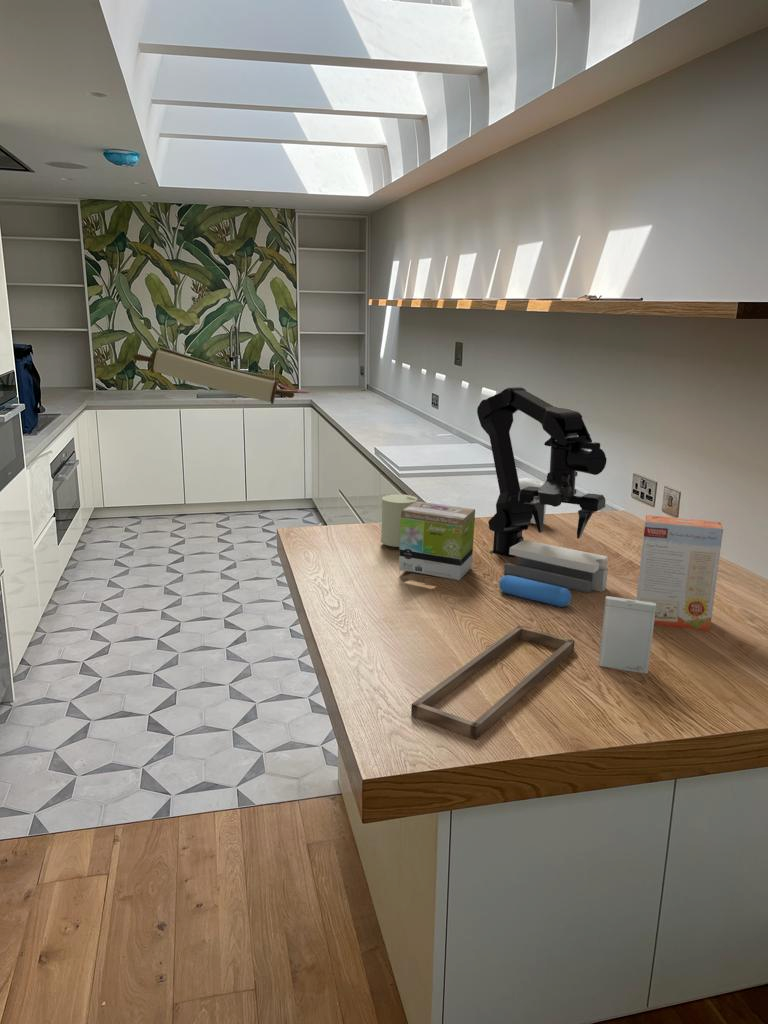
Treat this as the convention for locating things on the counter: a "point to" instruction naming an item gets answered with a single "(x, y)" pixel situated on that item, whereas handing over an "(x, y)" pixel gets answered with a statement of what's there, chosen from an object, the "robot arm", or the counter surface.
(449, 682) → the frame
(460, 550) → the tea box
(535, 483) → the photo printer
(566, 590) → the blue pill shape
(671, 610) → the cracker box
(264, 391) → the rolling pin
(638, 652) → the hard drive
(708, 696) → the counter surface
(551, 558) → the duct lid
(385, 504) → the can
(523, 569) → the duct
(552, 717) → the counter surface
